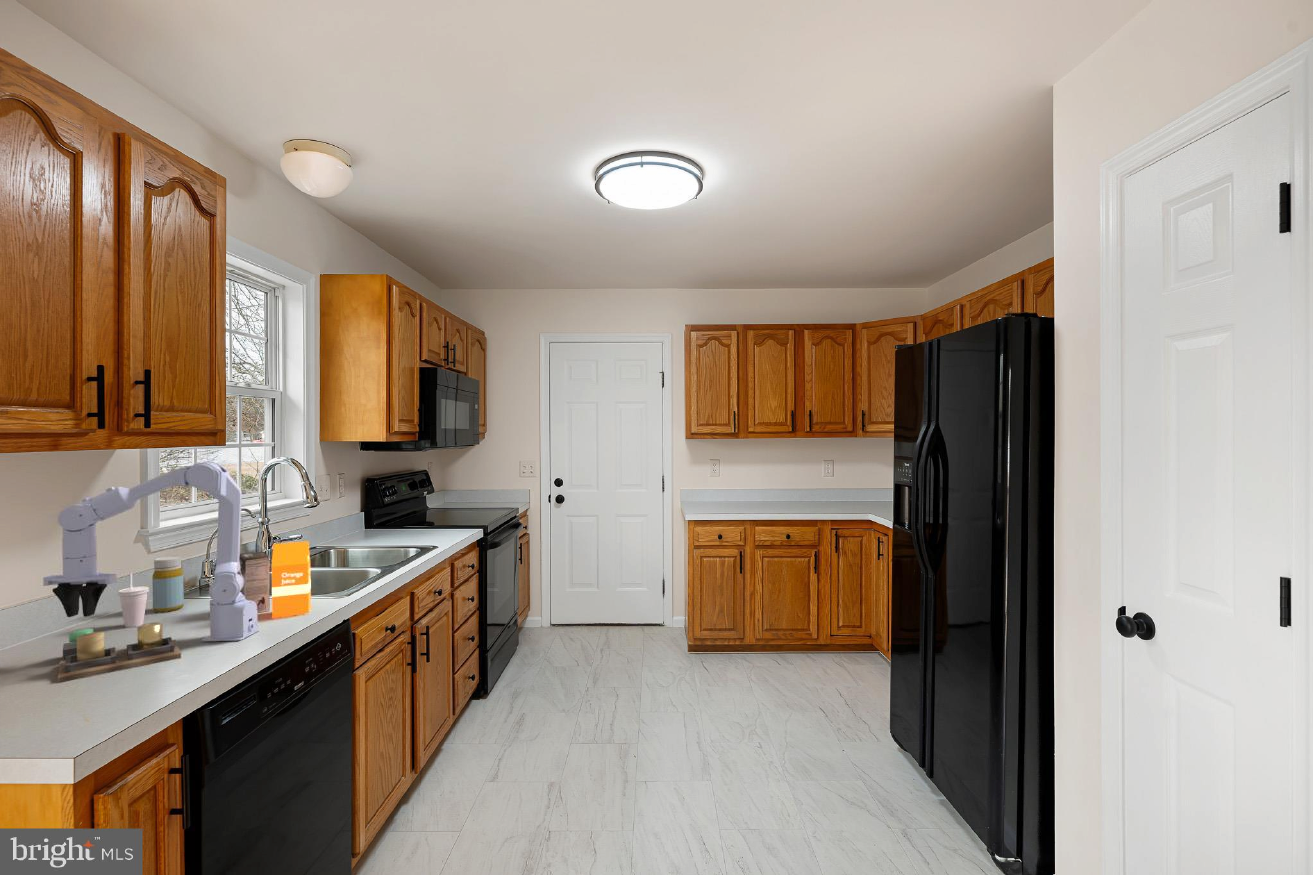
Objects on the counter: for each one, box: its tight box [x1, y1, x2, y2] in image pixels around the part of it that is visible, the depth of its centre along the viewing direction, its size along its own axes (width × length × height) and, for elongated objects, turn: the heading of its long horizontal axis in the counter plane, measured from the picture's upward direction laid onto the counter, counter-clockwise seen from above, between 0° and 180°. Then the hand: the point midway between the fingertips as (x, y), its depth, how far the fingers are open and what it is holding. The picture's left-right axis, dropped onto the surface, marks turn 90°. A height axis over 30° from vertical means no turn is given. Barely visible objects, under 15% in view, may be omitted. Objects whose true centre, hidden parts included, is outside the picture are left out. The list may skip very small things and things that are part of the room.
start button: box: [68, 628, 94, 643], centre depth 141 cm, size 4×4×2 cm
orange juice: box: [271, 540, 312, 619], centre depth 174 cm, size 8×9×20 cm
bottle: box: [151, 555, 185, 613], centre depth 179 cm, size 7×7×15 cm
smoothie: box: [117, 572, 150, 628], centre depth 164 cm, size 6×6×14 cm
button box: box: [62, 642, 77, 661], centre depth 141 cm, size 6×6×3 cm
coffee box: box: [239, 551, 271, 614], centre depth 177 cm, size 9×6×16 cm
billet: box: [136, 621, 164, 651], centre depth 141 cm, size 4×4×6 cm
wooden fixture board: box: [57, 631, 182, 683], centre depth 137 cm, size 20×13×7 cm, turn 133°
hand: (80, 615), depth 141 cm, fingers open, 3 cm apart
